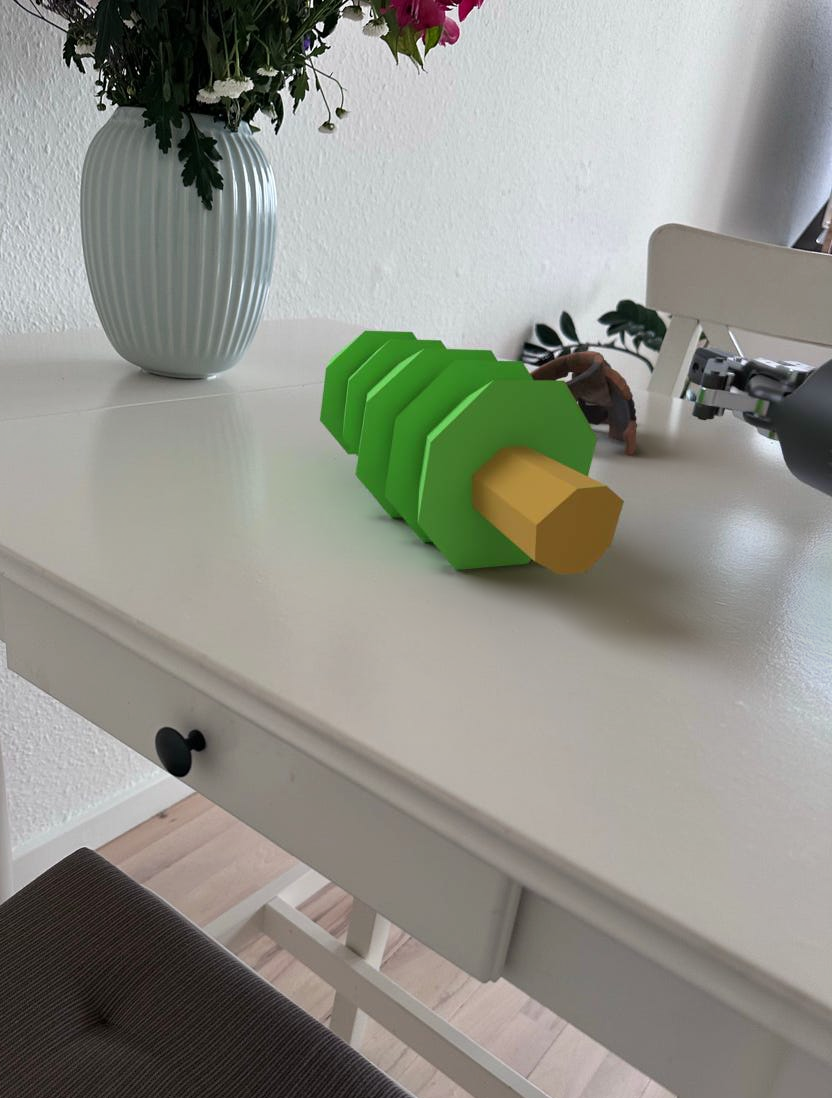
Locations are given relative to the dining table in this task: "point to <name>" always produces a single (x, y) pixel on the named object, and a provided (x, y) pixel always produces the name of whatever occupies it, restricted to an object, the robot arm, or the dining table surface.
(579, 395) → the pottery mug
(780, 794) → the dining table surface
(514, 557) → the decorative tree
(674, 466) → the dining table surface
